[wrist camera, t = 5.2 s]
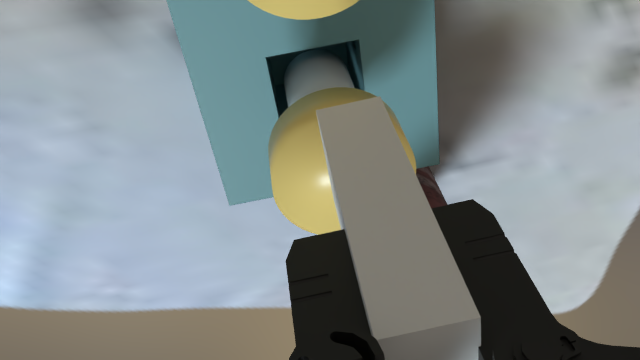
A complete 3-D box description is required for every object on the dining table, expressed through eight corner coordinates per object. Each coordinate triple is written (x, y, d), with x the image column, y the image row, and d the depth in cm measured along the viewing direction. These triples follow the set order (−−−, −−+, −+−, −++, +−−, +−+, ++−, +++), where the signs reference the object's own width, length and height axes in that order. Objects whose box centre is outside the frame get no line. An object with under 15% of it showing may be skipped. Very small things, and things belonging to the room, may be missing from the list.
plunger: (272, 137, 27) (286, 248, 21) (249, 38, 24) (258, 133, 18) (375, 116, 27) (419, 221, 21) (365, 16, 24) (412, 103, 18)
